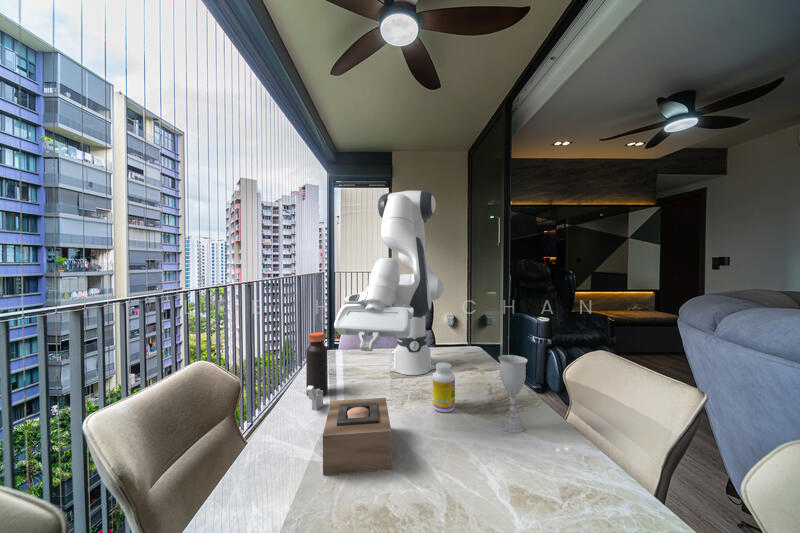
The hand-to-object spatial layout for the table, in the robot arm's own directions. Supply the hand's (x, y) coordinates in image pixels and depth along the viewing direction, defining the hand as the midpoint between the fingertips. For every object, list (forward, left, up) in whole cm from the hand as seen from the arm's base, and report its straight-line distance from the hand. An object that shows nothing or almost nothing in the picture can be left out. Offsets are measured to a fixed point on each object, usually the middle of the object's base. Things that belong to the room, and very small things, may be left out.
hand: (365, 350), depth 74 cm
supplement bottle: (-13, +23, -22) cm, 35 cm away
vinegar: (-28, -16, -22) cm, 39 cm away
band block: (+4, -2, -22) cm, 22 cm away
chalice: (0, +38, -22) cm, 44 cm away
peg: (+4, -2, -22) cm, 22 cm away
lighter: (-17, -15, -22) cm, 32 cm away
